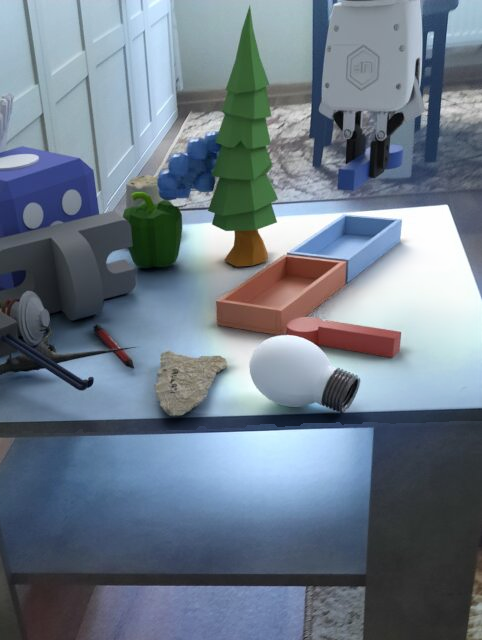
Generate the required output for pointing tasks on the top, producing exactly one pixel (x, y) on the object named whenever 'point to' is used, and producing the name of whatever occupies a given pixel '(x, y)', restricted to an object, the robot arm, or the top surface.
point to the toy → (39, 189)
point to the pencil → (113, 346)
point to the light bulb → (300, 374)
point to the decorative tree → (244, 156)
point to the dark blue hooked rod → (34, 353)
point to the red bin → (280, 293)
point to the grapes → (190, 169)
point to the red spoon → (346, 336)
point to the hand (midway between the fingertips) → (366, 173)
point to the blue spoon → (365, 168)
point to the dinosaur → (28, 365)
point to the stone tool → (185, 380)
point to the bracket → (70, 264)
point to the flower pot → (142, 190)
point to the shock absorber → (27, 316)
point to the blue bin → (352, 241)
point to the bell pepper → (154, 232)
